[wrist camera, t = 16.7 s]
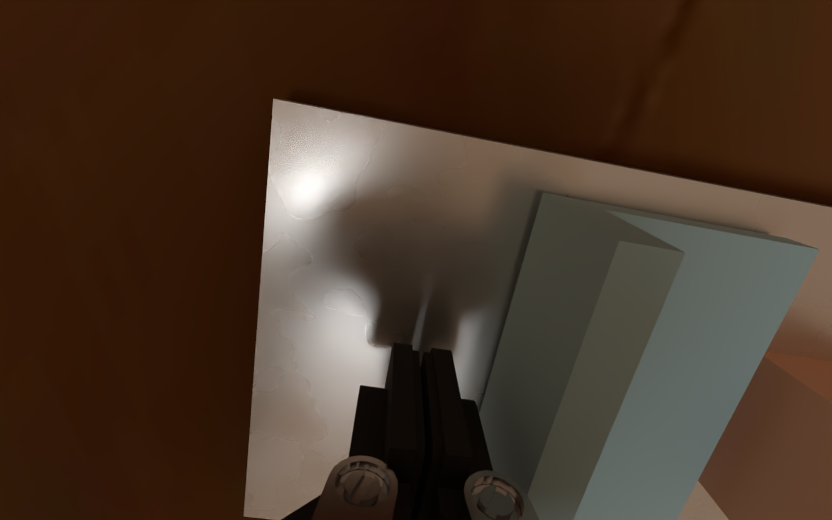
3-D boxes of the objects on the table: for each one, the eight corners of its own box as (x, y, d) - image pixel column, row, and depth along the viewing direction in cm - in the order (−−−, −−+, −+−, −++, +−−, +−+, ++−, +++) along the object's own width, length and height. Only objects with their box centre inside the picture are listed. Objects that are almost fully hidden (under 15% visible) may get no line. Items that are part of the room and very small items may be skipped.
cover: (446, 525, 15) (462, 674, 11) (542, 192, 11) (619, 240, 7) (633, 546, 16) (710, 695, 12) (786, 238, 12) (980, 304, 8)
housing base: (254, 487, 16) (120, 835, 8) (285, 99, 12) (53, 88, 4) (782, 548, 18) (1061, 875, 10) (988, 236, 14) (1762, 410, 6)
